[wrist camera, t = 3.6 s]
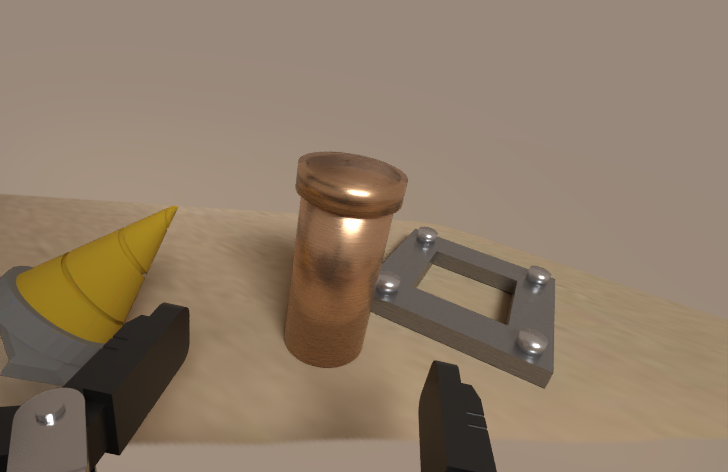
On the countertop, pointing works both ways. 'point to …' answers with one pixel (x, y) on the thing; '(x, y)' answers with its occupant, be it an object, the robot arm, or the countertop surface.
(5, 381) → the countertop surface
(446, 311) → the flange
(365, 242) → the pipe stub
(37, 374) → the drill bit
